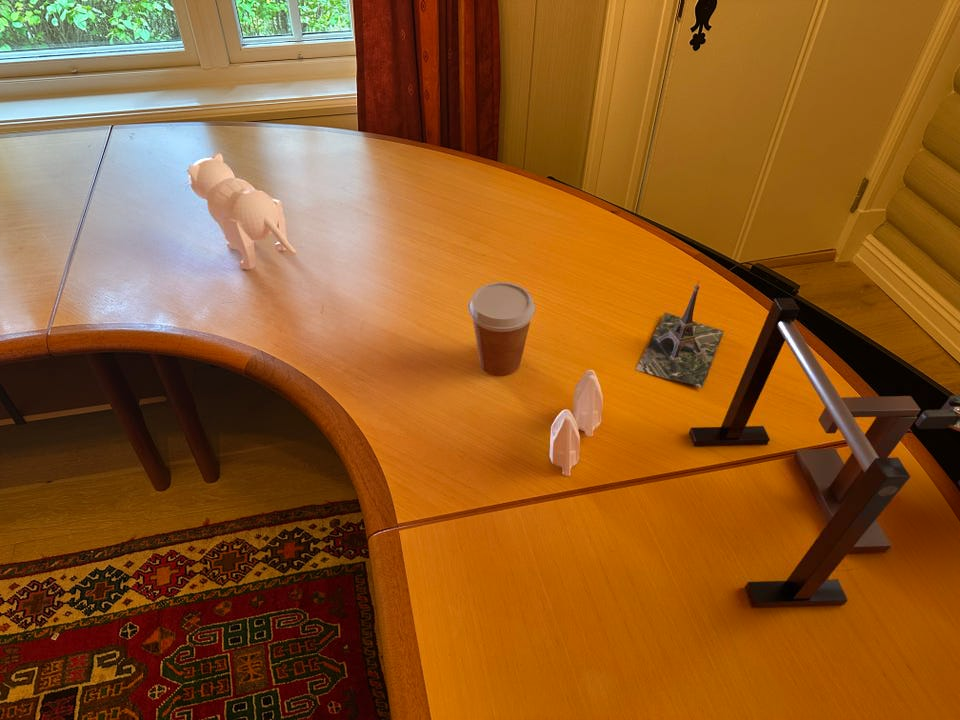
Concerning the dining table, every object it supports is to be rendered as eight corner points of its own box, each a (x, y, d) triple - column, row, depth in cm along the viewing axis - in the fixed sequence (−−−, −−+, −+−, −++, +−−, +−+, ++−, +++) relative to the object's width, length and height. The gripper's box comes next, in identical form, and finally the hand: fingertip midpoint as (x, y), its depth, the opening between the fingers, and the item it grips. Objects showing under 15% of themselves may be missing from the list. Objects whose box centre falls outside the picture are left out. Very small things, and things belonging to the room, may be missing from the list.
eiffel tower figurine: (702, 392, 88) (728, 321, 79) (635, 369, 92) (652, 299, 83) (723, 332, 98) (748, 264, 89) (661, 314, 102) (680, 246, 92)
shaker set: (579, 406, 86) (588, 348, 79) (606, 417, 85) (618, 360, 77) (540, 463, 79) (546, 406, 71) (569, 477, 77) (578, 420, 70)
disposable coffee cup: (517, 336, 98) (521, 274, 89) (540, 375, 91) (546, 313, 83) (461, 348, 95) (459, 287, 87) (480, 390, 89) (480, 327, 81)
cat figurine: (323, 260, 113) (306, 177, 102) (281, 288, 107) (257, 202, 96) (235, 222, 124) (210, 142, 112) (191, 245, 117) (160, 163, 106)
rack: (843, 605, 65) (960, 477, 49) (752, 608, 65) (840, 480, 49) (760, 431, 83) (827, 296, 67) (688, 433, 83) (738, 297, 67)
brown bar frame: (830, 456, 80) (894, 356, 68) (885, 553, 70) (972, 456, 57) (755, 457, 80) (806, 358, 67) (800, 555, 70) (868, 459, 57)
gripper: (1057, 378, 71) (921, 381, 71) (1160, 479, 61) (1002, 482, 60) (1018, 421, 76) (891, 423, 76) (1107, 520, 66) (961, 523, 65)
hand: (940, 449), depth 68 cm, fingers open, 8 cm apart
